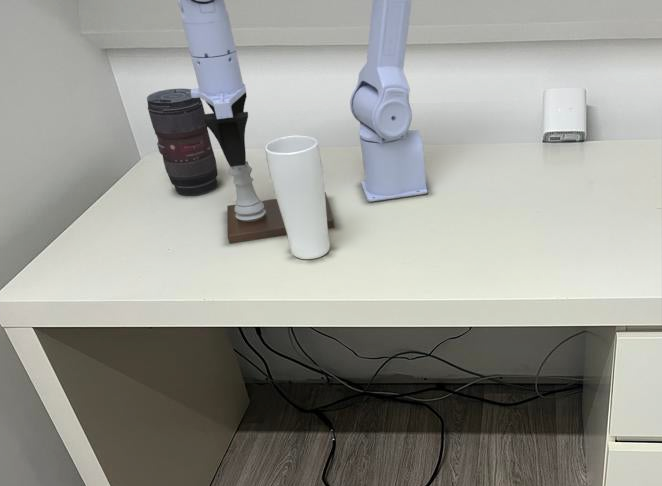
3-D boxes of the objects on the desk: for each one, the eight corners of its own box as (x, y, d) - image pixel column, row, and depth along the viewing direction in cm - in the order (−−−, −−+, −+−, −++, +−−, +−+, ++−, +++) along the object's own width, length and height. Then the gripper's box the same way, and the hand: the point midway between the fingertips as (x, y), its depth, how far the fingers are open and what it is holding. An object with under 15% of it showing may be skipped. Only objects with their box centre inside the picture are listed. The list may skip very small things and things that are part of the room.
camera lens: (208, 199, 119) (183, 103, 110) (163, 197, 120) (134, 102, 111) (231, 179, 125) (208, 87, 116) (187, 177, 127) (161, 86, 118)
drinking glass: (313, 267, 99) (292, 157, 90) (276, 256, 102) (252, 148, 93) (346, 246, 103) (329, 139, 94) (309, 237, 106) (289, 132, 97)
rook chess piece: (272, 211, 111) (261, 159, 106) (256, 224, 108) (244, 171, 103) (246, 209, 112) (234, 157, 107) (230, 221, 109) (216, 168, 104)
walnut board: (326, 198, 117) (325, 191, 116) (334, 227, 108) (333, 220, 108) (229, 212, 114) (227, 205, 114) (229, 243, 106) (227, 235, 105)
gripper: (183, 43, 101) (208, 142, 109) (178, 69, 90) (207, 178, 98) (236, 37, 102) (257, 136, 111) (238, 63, 91) (261, 170, 99)
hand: (237, 155), depth 104 cm, fingers open, 7 cm apart
